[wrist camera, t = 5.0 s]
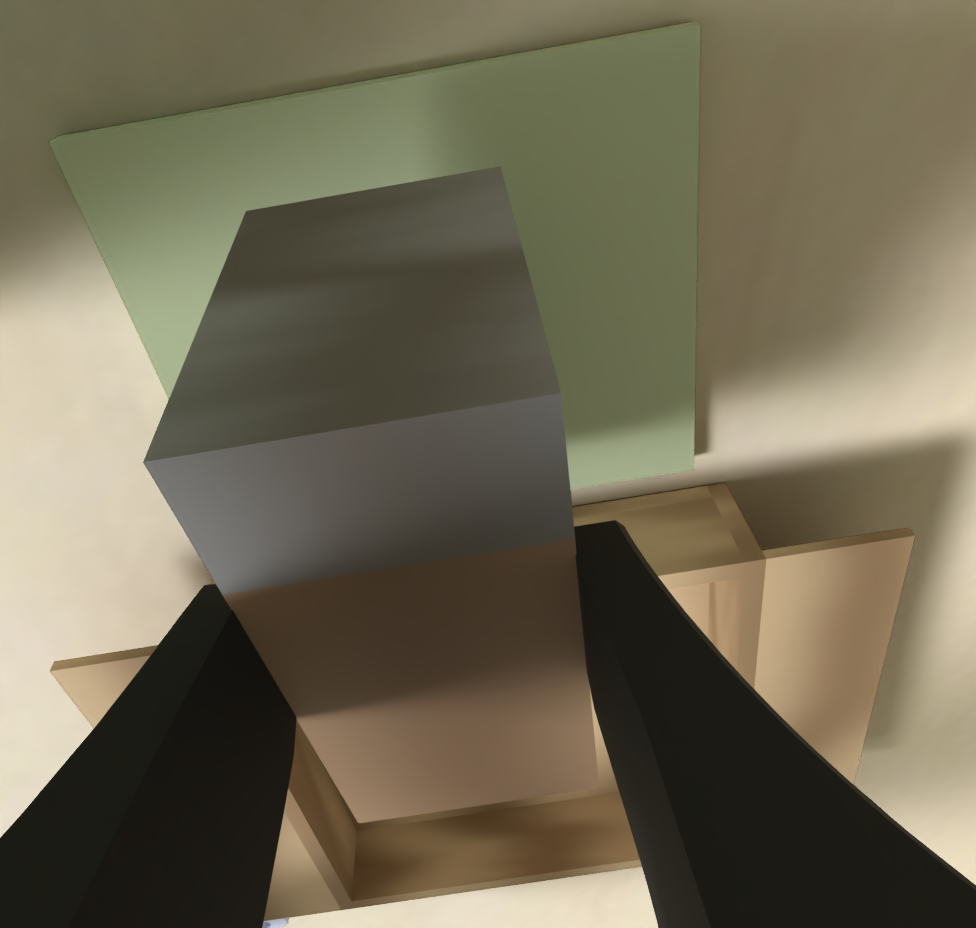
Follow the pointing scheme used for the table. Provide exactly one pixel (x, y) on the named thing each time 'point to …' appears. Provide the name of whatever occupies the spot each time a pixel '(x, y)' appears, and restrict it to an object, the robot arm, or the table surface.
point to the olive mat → (441, 152)
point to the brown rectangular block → (392, 493)
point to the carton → (595, 812)
